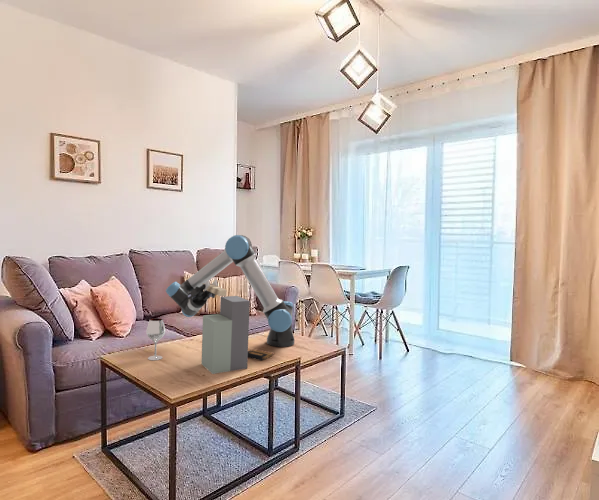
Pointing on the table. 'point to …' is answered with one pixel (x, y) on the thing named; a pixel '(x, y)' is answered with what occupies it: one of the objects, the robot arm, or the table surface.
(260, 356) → the ammunition clip
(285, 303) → the robot arm
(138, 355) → the table surface
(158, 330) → the wineglass
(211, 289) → the beech bar
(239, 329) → the step stand
